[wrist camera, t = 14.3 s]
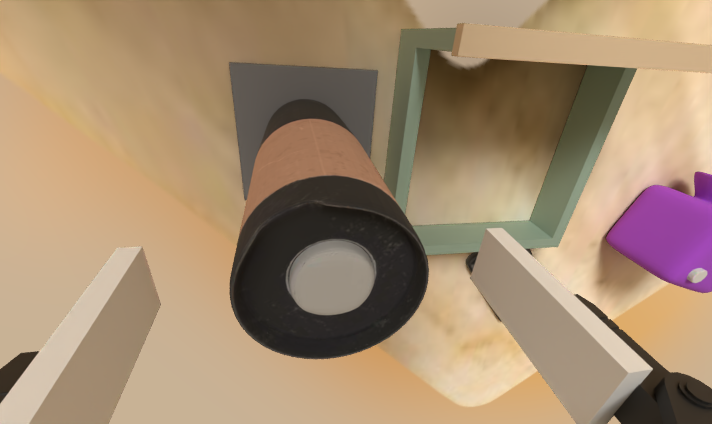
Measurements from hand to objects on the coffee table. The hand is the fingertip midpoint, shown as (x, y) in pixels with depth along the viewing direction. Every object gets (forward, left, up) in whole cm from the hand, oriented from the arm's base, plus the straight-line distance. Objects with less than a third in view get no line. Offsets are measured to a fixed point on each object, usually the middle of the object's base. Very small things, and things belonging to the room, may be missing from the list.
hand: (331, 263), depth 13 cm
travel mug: (0, 0, -19) cm, 19 cm away
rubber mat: (0, 0, -19) cm, 19 cm away
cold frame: (+1, +18, -19) cm, 26 cm away
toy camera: (+9, +45, -19) cm, 50 cm away
